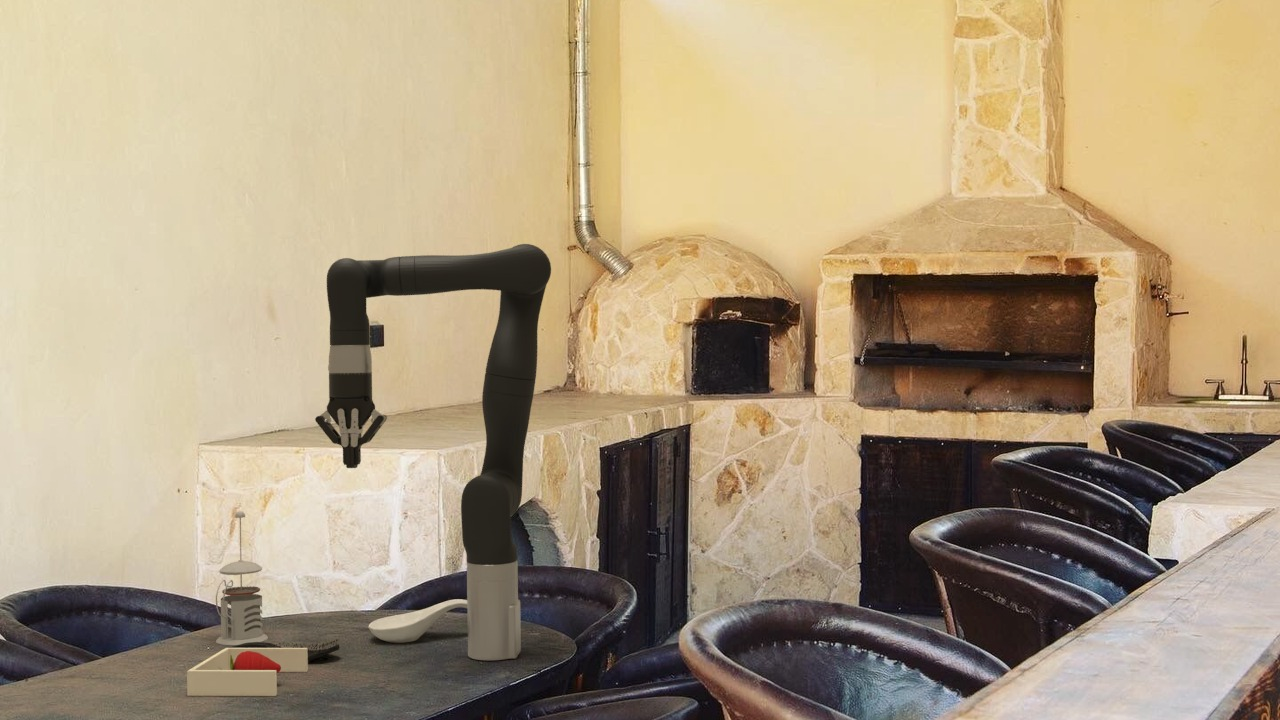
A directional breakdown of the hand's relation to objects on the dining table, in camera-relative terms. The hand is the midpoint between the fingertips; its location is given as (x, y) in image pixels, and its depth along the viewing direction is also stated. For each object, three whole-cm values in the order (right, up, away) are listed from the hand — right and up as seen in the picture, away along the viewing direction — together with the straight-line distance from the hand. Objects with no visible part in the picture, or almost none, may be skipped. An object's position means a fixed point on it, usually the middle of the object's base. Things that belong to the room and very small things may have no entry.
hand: (351, 467), depth 233 cm
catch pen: (-14, -35, -13) cm, 40 cm away
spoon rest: (+11, -35, +21) cm, 42 cm away
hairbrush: (-15, -36, +7) cm, 39 cm away
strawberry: (-9, -32, -14) cm, 36 cm away
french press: (-26, -35, +20) cm, 48 cm away
